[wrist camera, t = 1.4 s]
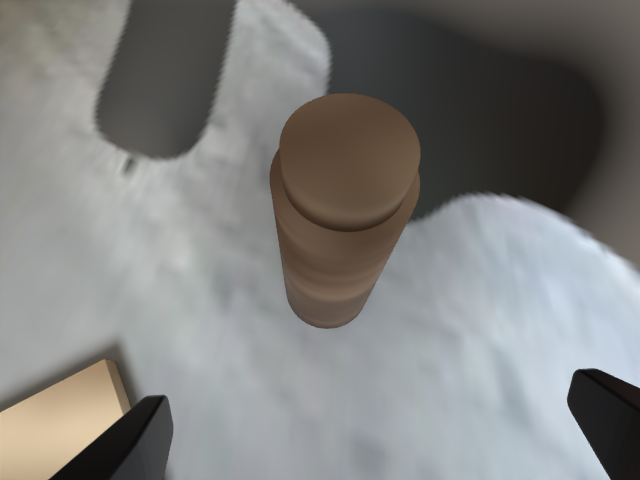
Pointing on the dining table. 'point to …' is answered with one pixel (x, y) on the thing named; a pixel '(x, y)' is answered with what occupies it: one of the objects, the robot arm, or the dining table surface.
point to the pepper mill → (341, 201)
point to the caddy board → (60, 422)
